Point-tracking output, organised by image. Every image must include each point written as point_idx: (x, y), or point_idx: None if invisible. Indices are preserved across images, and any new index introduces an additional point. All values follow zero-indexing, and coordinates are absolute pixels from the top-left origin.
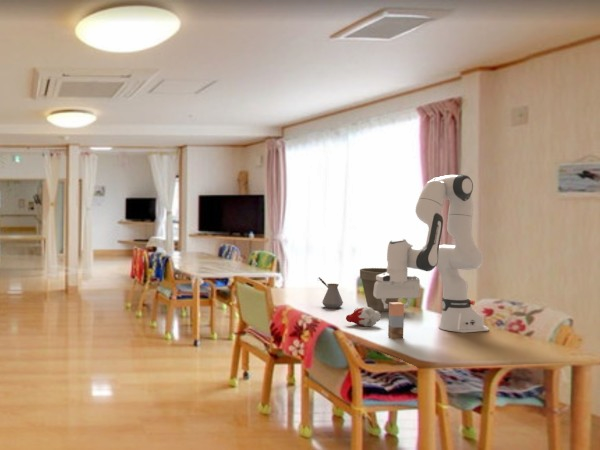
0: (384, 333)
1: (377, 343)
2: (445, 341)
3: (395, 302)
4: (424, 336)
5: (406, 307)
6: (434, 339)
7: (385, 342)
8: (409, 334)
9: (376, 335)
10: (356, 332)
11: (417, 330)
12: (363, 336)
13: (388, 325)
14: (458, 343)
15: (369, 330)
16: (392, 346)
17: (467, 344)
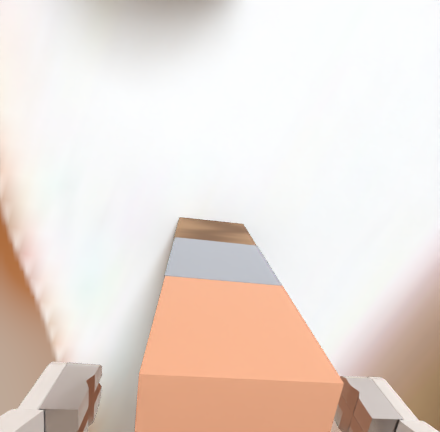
0: (192, 138)
1: (57, 348)
2: (386, 368)
3: (255, 393)
4: (364, 262)
5: (342, 421)
6: (367, 327)
7: (106, 337)
8: (319, 201)
9: (120, 178)
10: (13, 53)
11: (427, 111)
12: (28, 184)
13: (174, 237)
14: (410, 404)
15: (130, 14)
16: (108, 407)
17: (430, 422)
